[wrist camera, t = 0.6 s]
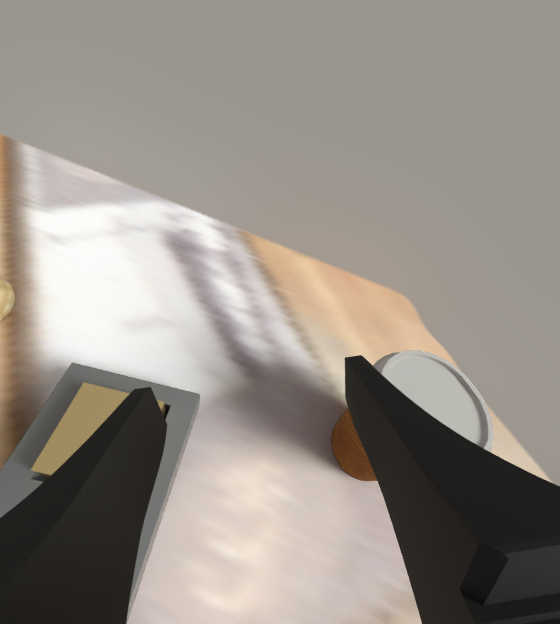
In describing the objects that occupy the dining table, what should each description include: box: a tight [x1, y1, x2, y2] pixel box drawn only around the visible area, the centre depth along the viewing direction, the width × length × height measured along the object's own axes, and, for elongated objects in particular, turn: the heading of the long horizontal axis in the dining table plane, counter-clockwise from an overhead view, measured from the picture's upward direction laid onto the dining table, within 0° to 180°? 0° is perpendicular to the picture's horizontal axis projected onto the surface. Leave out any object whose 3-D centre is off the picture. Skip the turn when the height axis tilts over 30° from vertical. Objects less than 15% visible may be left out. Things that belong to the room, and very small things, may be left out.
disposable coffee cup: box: [332, 350, 494, 481], centre depth 26 cm, size 10×10×12 cm
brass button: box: [31, 382, 166, 478], centre depth 23 cm, size 6×6×3 cm
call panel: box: [0, 363, 200, 624], centre depth 21 cm, size 22×11×3 cm, turn 170°
